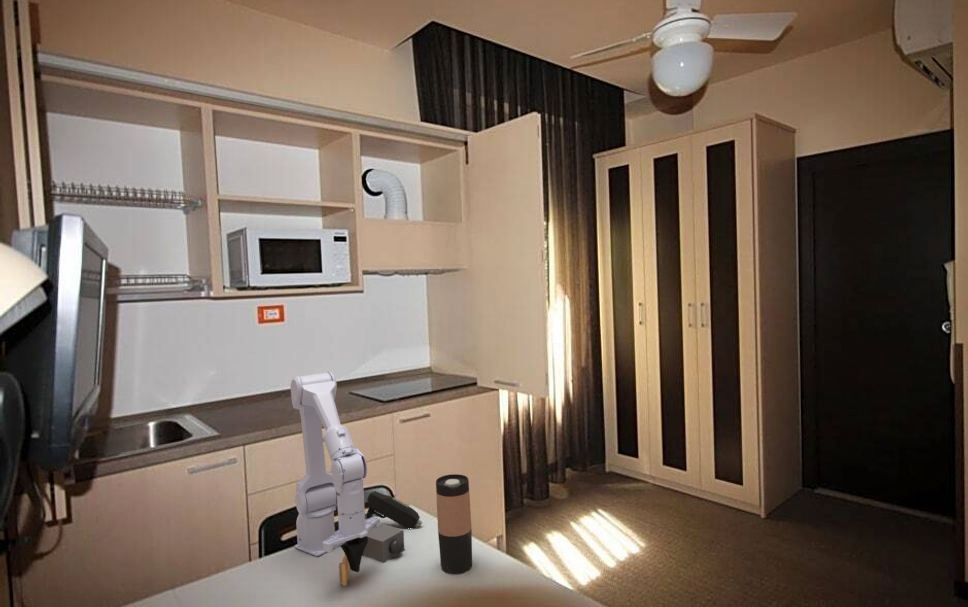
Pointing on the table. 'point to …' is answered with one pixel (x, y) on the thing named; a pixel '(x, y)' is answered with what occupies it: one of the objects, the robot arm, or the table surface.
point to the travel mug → (454, 523)
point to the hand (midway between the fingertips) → (354, 570)
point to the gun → (392, 510)
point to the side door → (344, 570)
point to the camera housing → (384, 543)
